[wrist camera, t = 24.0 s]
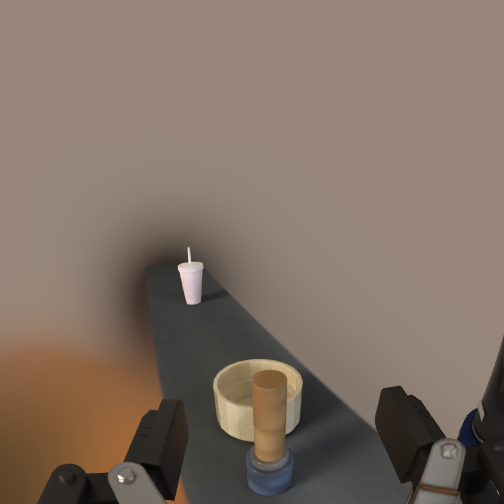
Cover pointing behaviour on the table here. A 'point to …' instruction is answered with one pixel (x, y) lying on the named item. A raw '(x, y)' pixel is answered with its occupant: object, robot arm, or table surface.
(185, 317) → the table surface
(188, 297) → the smoothie
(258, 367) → the bowl
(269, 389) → the brush
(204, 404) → the table surface
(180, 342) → the table surface
